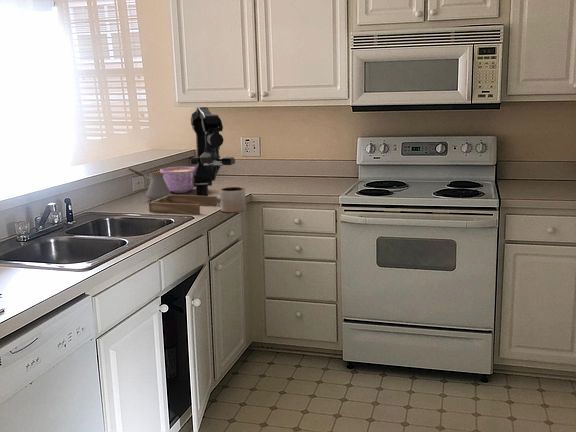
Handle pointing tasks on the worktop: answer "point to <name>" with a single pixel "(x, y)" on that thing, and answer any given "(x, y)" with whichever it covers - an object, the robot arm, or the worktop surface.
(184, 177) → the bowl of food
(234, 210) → the planter
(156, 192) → the coffee pot
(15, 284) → the worktop surface
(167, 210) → the wooden tray
